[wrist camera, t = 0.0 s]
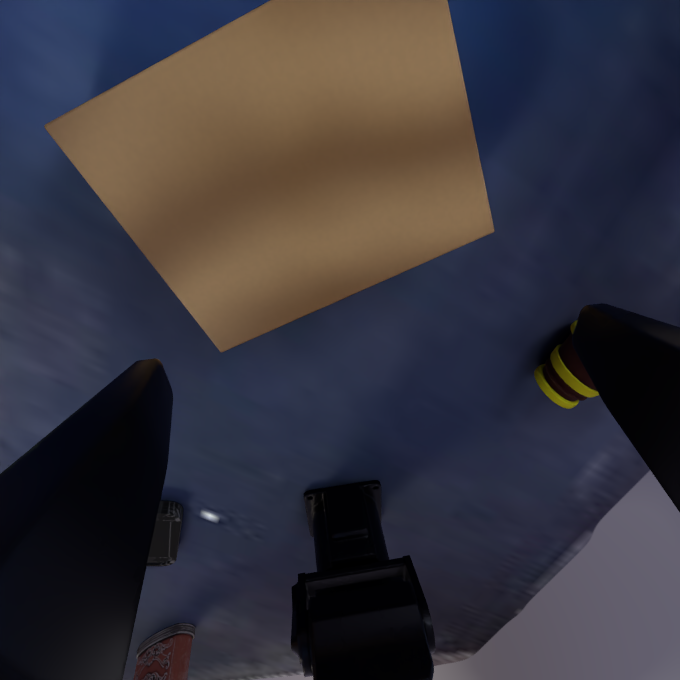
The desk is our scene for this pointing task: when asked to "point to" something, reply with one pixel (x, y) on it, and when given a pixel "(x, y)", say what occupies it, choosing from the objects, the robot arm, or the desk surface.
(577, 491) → the desk surface
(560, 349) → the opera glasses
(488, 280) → the desk surface
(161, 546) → the phone
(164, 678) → the lighter
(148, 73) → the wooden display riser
